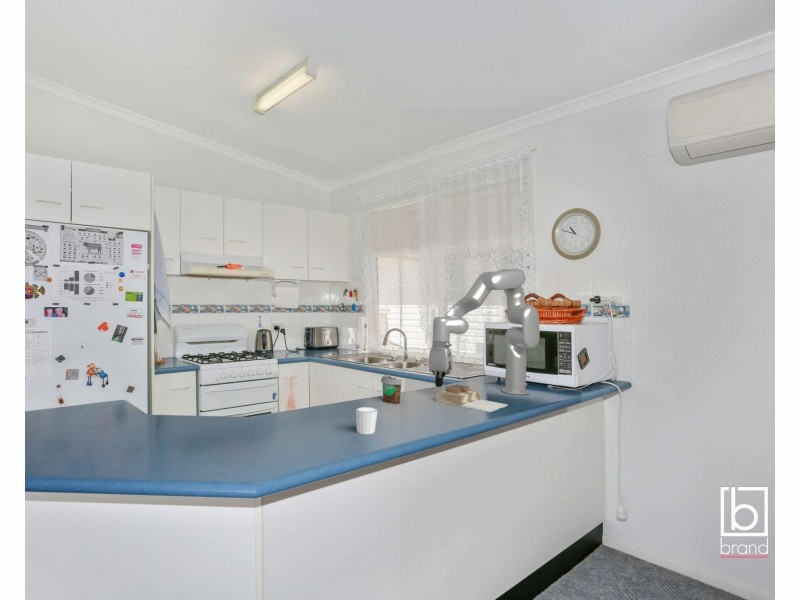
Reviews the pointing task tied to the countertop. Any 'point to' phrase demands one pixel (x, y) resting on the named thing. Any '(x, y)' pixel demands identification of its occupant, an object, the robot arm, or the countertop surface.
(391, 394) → the food container
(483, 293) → the robot arm
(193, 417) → the countertop surface
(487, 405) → the white folded cloth
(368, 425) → the white fluted cup
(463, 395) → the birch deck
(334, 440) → the countertop surface
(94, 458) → the countertop surface
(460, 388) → the walnut tile
